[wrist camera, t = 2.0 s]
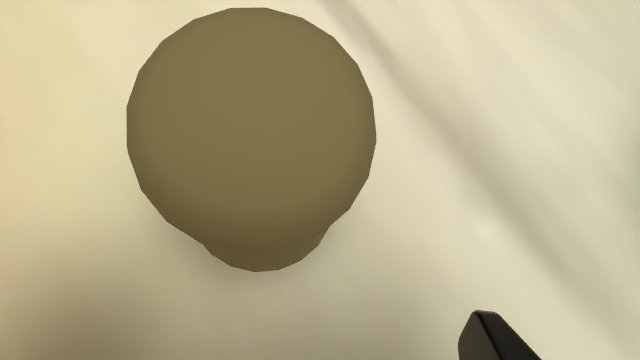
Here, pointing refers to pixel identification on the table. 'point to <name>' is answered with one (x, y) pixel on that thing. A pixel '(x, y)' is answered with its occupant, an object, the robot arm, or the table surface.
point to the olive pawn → (251, 134)
